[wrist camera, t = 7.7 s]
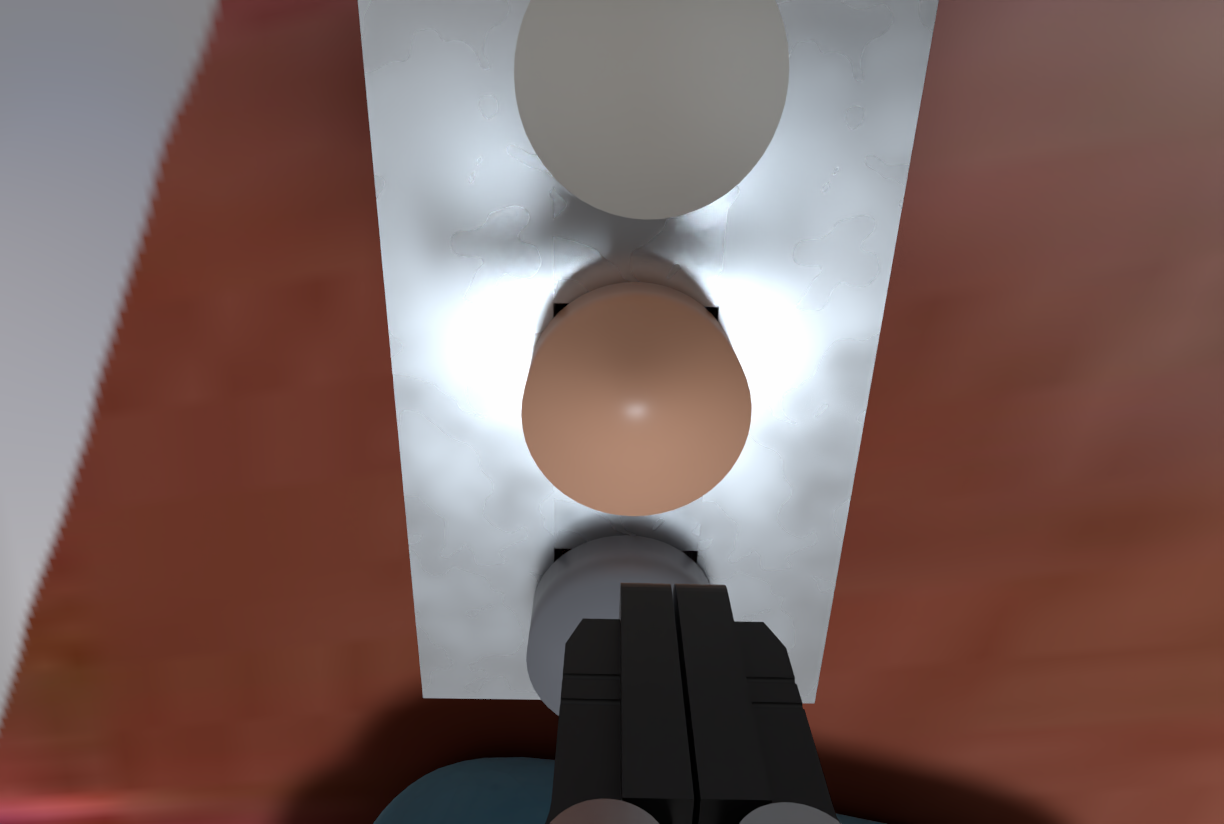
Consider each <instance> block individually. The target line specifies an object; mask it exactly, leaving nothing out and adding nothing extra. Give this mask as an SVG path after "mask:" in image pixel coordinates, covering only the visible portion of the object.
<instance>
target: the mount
mask: <svg viewBox="0 0 1224 824" xmlns="http://www.w3.org/2000/svg"><path fill="white" fill-rule="evenodd" d="M775 1H776V3H777V5H778V8H779V11H780V14H781V17H782V20H783V23H784V26H785V31H786V37H787V42H788V51H789V83H788V90H787V96H786V101H785V106H784V109H783V112H782V116H781V119H780V122H779V125H778V127H777V129H776V132H775V134H774V136H773V139H772V140H771V142H770V144H769V146H768V147H767V149H766V151H765V153H764V154H763V156H762V157H761V159H760V160H759V161H758V163H757V164H756V165H755V167H754V168H753V169H752V170H751V172H750V173H749V174H748V175H747V176H746V177H745V178H744V179H743V180H742V181H741V182H740V183H739V184H738V185H737V186H735V187H734V188H733V189H732V190H730V191H729V192H728V193H727V194H725V195H724V196H722V197H721V198H719V199H717V200H716V201H714V202H713V203H711V204H709V205H707V206H705V207H703V208H700V209H698V210H696V211H693V212H690V213H687V214H684V215H680V216H676V217H670V218H665V219H648V220H644V219H634V218H626V217H622V216H618V215H613V214H610V213H608V212H605V211H602V210H600V209H597V208H595V207H593V206H591V205H589V204H588V203H586V202H584V201H582V200H580V199H579V198H578V197H576V196H575V195H573V194H572V193H571V192H569V191H568V190H567V189H566V188H565V187H563V186H562V185H561V184H560V183H559V182H558V181H557V180H556V179H555V178H554V177H553V176H552V175H551V173H550V172H549V171H548V170H547V168H546V167H545V166H544V165H543V163H542V162H541V160H540V159H539V157H538V156H537V154H536V152H535V151H534V149H533V147H532V145H531V143H530V141H529V139H528V137H527V135H526V133H525V130H524V127H523V124H522V121H521V118H520V115H519V111H518V106H517V101H516V96H515V84H514V58H515V50H516V44H517V38H518V34H519V30H520V27H521V23H522V20H523V17H524V14H525V12H526V10H527V7H528V5H529V3H530V0H358V8H359V19H360V30H361V40H362V51H363V62H364V72H365V83H366V94H367V105H368V115H369V126H370V137H371V147H372V158H373V169H374V179H375V190H376V201H377V211H378V222H379V233H380V243H381V254H382V265H383V275H384V286H385V297H386V308H387V318H388V329H389V340H390V350H391V361H392V372H393V382H394V393H395V404H396V414H397V425H398V436H399V446H400V457H401V468H402V478H403V489H404V500H405V510H406V521H407V532H408V543H409V553H410V564H411V575H412V585H413V596H414V607H415V617H416V628H417V639H418V649H419V660H420V671H421V681H422V692H423V698H456V699H531V700H541V699H540V697H539V696H538V694H537V693H536V691H535V690H534V688H533V686H532V683H531V681H530V678H529V675H528V671H527V662H526V657H527V646H528V638H529V630H530V623H531V615H532V607H533V601H534V596H535V592H536V589H537V587H538V584H539V582H540V580H541V579H542V577H543V575H544V574H545V572H546V571H547V570H548V569H549V567H550V566H551V565H552V564H553V563H554V562H555V561H556V560H557V559H558V558H560V557H561V556H562V549H573V548H575V547H577V546H579V545H581V544H584V543H586V542H589V541H592V540H595V539H599V538H603V537H610V536H622V535H630V536H641V537H646V538H652V539H655V540H658V541H661V542H664V543H666V544H669V545H671V546H673V547H675V548H677V549H678V550H680V551H682V552H683V553H685V554H686V555H687V556H688V557H690V558H691V559H692V560H693V561H694V562H695V563H696V564H697V565H698V566H699V567H700V568H701V570H702V571H703V573H704V574H705V576H706V577H707V579H708V581H709V583H710V584H720V585H726V587H727V591H728V595H729V600H730V604H731V609H732V614H733V618H734V621H741V622H764V623H765V624H766V625H767V626H768V627H769V629H770V630H771V631H772V632H773V633H774V634H775V636H776V637H777V638H778V639H779V640H780V641H781V642H782V644H783V645H784V646H785V647H786V649H787V652H788V656H789V659H790V662H791V666H792V669H793V673H794V676H795V684H797V686H798V690H799V693H800V696H801V700H802V703H815V697H816V691H817V686H818V680H819V674H820V669H821V663H822V657H823V652H824V646H825V640H826V635H827V629H828V623H829V618H830V612H831V606H832V601H833V595H834V589H835V584H836V578H837V572H838V567H839V561H840V555H841V550H842V544H843V538H844V533H845V527H846V521H847V516H848V510H849V504H850V499H851V493H852V488H853V482H854V476H855V471H856V465H857V459H858V454H859V448H860V442H861V437H862V431H863V425H864V420H865V414H866V408H867V403H868V397H869V391H870V386H871V380H872V374H873V369H874V363H875V357H876V352H877V346H878V340H879V335H880V329H881V323H882V318H883V312H884V306H885V301H886V295H887V289H888V284H889V278H890V272H891V267H892V261H893V255H894V250H895V244H896V238H897V233H898V227H899V221H900V216H901V210H902V204H903V199H904V193H905V187H906V182H907V176H908V170H909V165H910V159H911V153H912V148H913V142H914V136H915V131H916V125H917V119H918V114H919V108H920V102H921V97H922V91H923V86H924V80H925V74H926V69H927V63H928V57H929V52H930V46H931V40H932V35H933V29H934V23H935V18H936V12H937V6H938V1H939V0H775ZM625 282H643V283H653V284H657V285H662V286H666V287H669V288H672V289H674V290H677V291H680V292H682V293H684V294H685V295H687V296H689V297H691V298H693V299H694V300H696V301H697V302H698V303H700V304H701V305H703V306H704V307H705V308H706V309H707V310H708V311H709V312H710V313H711V314H712V315H713V316H714V317H715V318H716V320H717V321H718V322H719V323H720V325H721V326H722V328H723V329H724V331H725V333H726V334H727V336H728V338H729V340H730V342H731V345H732V347H733V349H734V351H735V353H736V355H737V357H738V359H739V362H740V364H741V366H742V368H743V371H744V373H745V376H746V378H747V381H748V385H749V389H750V394H751V404H752V411H751V423H750V429H749V434H748V437H747V440H746V443H745V446H744V448H743V450H742V452H741V454H740V456H739V458H738V460H737V461H736V463H735V464H734V466H733V467H732V469H731V470H730V471H729V473H728V474H727V475H726V476H725V477H724V478H723V480H722V481H721V482H719V483H718V484H717V485H716V486H715V487H714V488H713V489H712V490H710V491H709V492H708V493H706V494H705V495H703V496H702V497H700V498H699V499H697V500H695V501H693V502H691V503H689V504H688V505H685V506H683V507H680V508H678V509H675V510H672V511H668V512H664V513H661V514H654V515H648V516H622V515H614V514H609V513H604V512H601V511H598V510H594V509H591V508H589V507H587V506H584V505H582V504H580V503H578V502H576V501H574V500H573V499H571V498H569V497H568V496H566V495H565V494H564V493H562V492H561V491H560V490H558V489H557V488H556V487H555V486H554V485H553V484H552V483H551V482H550V481H549V480H548V479H547V478H546V477H545V476H544V474H543V473H542V472H541V471H540V469H539V468H538V467H537V465H536V463H535V461H534V460H533V458H532V456H531V454H530V452H529V449H528V447H527V444H526V441H525V437H524V433H523V429H522V418H521V408H522V398H523V393H524V388H525V384H526V380H527V375H528V371H529V367H530V363H531V359H532V356H533V353H534V350H535V347H536V344H537V342H538V340H539V338H540V336H541V334H542V333H543V331H544V330H545V328H546V327H547V325H548V324H549V323H550V321H551V320H552V319H553V318H554V317H555V316H556V315H557V314H558V313H559V311H561V310H562V309H563V303H570V302H572V301H574V300H575V299H577V298H578V297H580V296H582V295H584V294H586V293H588V292H590V291H592V290H595V289H598V288H601V287H604V286H607V285H612V284H618V283H625Z"/></svg>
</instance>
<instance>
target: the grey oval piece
mask: <svg viewBox="0 0 1224 824" xmlns="http://www.w3.org/2000/svg"><path fill="white" fill-rule="evenodd" d="M788 83H789V51H788V42H787V37H786V31H785V26H784V23H783V20H782V17H781V14H780V11H779V8H778V5H777V3H776V1H775V0H530V3H529V5H528V7H527V10H526V12H525V14H524V17H523V20H522V23H521V27H520V30H519V34H518V38H517V44H516V50H515V58H514V84H515V96H516V101H517V106H518V111H519V115H520V118H521V121H522V124H523V127H524V130H525V133H526V135H527V137H528V139H529V141H530V143H531V145H532V147H533V149H534V151H535V152H536V154H537V156H538V157H539V159H540V160H541V162H542V163H543V165H544V166H545V167H546V168H547V170H548V171H549V172H550V173H551V175H552V176H553V177H554V178H555V179H556V180H557V181H558V182H559V183H560V184H561V185H562V186H563V187H565V188H566V189H567V190H568V191H569V192H571V193H572V194H573V195H575V196H576V197H578V198H579V199H580V200H582V201H584V202H586V203H588V204H589V205H591V206H593V207H595V208H597V209H600V210H602V211H605V212H608V213H610V214H613V215H618V216H622V217H626V218H634V219H644V220H648V219H665V218H670V217H676V216H680V215H684V214H687V213H690V212H693V211H696V210H698V209H700V208H703V207H705V206H707V205H709V204H711V203H713V202H714V201H716V200H717V199H719V198H721V197H722V196H724V195H725V194H727V193H728V192H729V191H730V190H732V189H733V188H734V187H735V186H737V185H738V184H739V183H740V182H741V181H742V180H743V179H744V178H745V177H746V176H747V175H748V174H749V173H750V172H751V170H752V169H753V168H754V167H755V165H756V164H757V163H758V161H759V160H760V159H761V157H762V156H763V154H764V153H765V151H766V149H767V147H768V146H769V144H770V142H771V140H772V139H773V136H774V134H775V132H776V129H777V127H778V125H779V122H780V119H781V116H782V112H783V109H784V106H785V101H786V96H787V90H788Z"/></svg>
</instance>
